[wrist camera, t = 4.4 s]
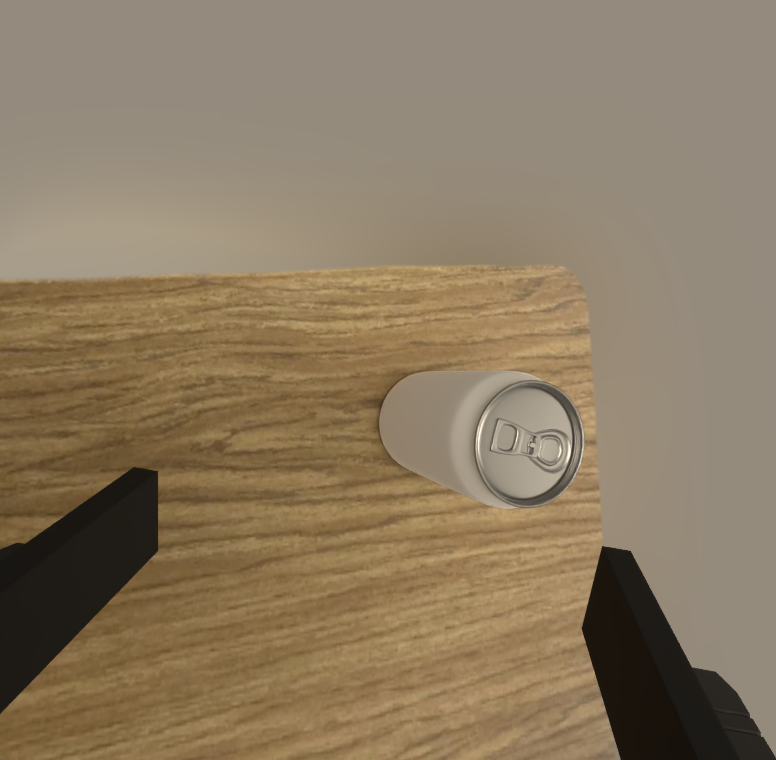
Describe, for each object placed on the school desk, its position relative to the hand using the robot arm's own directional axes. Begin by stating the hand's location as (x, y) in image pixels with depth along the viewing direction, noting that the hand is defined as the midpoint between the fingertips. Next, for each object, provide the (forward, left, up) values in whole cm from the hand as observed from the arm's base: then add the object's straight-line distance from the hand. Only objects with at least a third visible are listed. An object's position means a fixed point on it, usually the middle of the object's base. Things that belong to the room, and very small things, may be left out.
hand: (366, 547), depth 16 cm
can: (+3, +9, -17) cm, 20 cm away
